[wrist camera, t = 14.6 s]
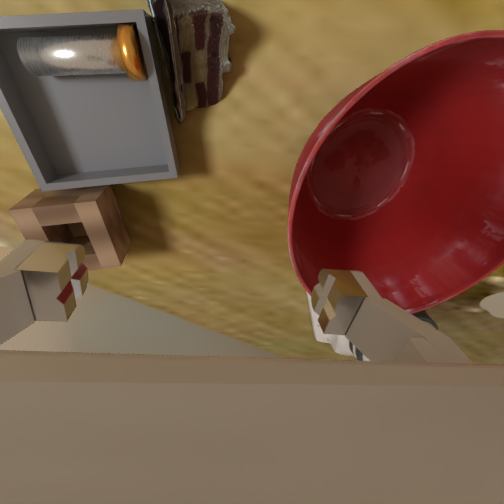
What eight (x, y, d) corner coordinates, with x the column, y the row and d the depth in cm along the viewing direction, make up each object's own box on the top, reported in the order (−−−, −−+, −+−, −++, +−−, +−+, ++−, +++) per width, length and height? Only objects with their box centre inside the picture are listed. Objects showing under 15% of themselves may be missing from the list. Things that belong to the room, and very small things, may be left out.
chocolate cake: (235, 120, 35) (261, 24, 23) (179, 131, 33) (177, 32, 21) (208, 55, 36) (220, -66, 25) (152, 62, 34) (137, -67, 22)
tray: (179, 167, 36) (177, 177, 33) (57, 179, 35) (42, 191, 32) (149, 15, 28) (142, 9, 25) (-14, 23, 26) (-45, 18, 23)
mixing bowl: (473, 3, 31) (660, -37, 18) (446, 220, 47) (535, 277, 35) (231, 91, 32) (250, 109, 20) (285, 272, 49) (314, 347, 36)
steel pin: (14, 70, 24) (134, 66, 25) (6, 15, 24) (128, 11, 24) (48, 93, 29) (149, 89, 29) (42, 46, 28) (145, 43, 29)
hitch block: (130, 241, 41) (121, 266, 36) (66, 249, 40) (47, 275, 35) (110, 182, 36) (95, 201, 31) (35, 189, 35) (8, 210, 30)
